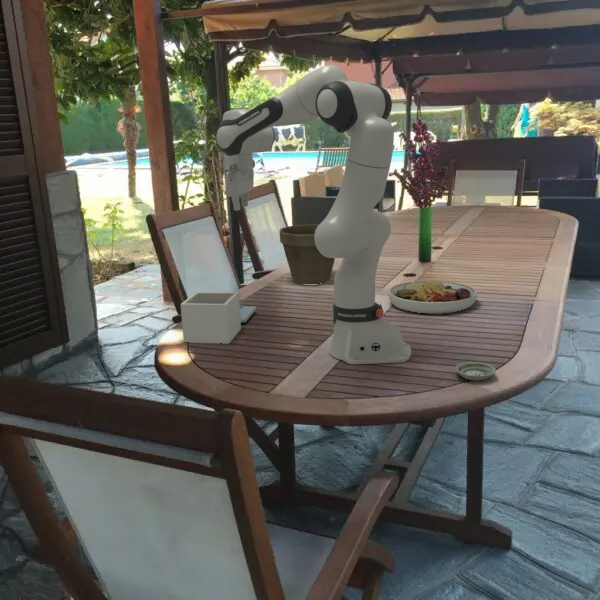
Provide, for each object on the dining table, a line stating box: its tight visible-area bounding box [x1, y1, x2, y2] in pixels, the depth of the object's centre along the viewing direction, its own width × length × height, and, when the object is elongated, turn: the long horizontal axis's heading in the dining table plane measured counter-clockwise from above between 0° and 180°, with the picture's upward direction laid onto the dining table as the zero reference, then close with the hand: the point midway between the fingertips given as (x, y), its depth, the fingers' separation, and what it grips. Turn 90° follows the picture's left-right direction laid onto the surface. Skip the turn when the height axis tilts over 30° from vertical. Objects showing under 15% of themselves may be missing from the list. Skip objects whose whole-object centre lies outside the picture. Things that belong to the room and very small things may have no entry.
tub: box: [180, 291, 242, 345], centre depth 196 cm, size 14×14×12 cm
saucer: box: [454, 361, 496, 381], centre depth 159 cm, size 10×10×2 cm
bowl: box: [387, 279, 478, 315], centre depth 222 cm, size 30×30×8 cm
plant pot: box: [278, 224, 336, 285], centre depth 258 cm, size 25×25×22 cm
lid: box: [239, 298, 257, 323], centre depth 215 cm, size 15×15×5 cm
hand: (241, 208), depth 202 cm, fingers open, 8 cm apart
